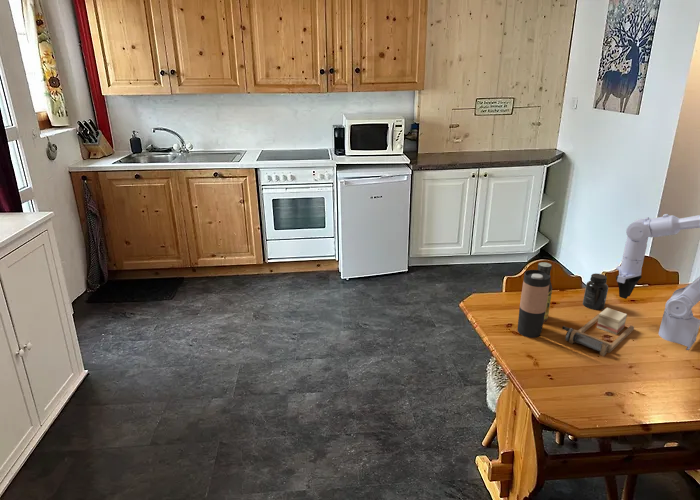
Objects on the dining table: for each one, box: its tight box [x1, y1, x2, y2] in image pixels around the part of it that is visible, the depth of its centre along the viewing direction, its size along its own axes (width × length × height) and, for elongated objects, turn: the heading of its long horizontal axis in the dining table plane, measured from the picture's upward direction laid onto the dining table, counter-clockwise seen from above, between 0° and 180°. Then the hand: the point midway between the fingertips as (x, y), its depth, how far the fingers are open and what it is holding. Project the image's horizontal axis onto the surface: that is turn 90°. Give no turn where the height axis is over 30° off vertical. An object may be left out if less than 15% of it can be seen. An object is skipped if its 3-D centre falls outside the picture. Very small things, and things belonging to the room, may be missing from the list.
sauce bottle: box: [537, 261, 553, 323], centre depth 158 cm, size 6×6×20 cm
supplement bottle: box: [582, 272, 609, 311], centre depth 167 cm, size 7×7×12 cm
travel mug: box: [517, 269, 552, 339], centre depth 151 cm, size 8×8×20 cm
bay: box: [573, 313, 635, 354], centre depth 151 cm, size 11×19×4 cm, turn 133°
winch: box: [561, 325, 608, 357], centre depth 145 cm, size 13×4×5 cm, turn 43°
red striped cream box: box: [596, 307, 628, 336], centre depth 154 cm, size 6×6×5 cm
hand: (624, 296), depth 157 cm, fingers closed
